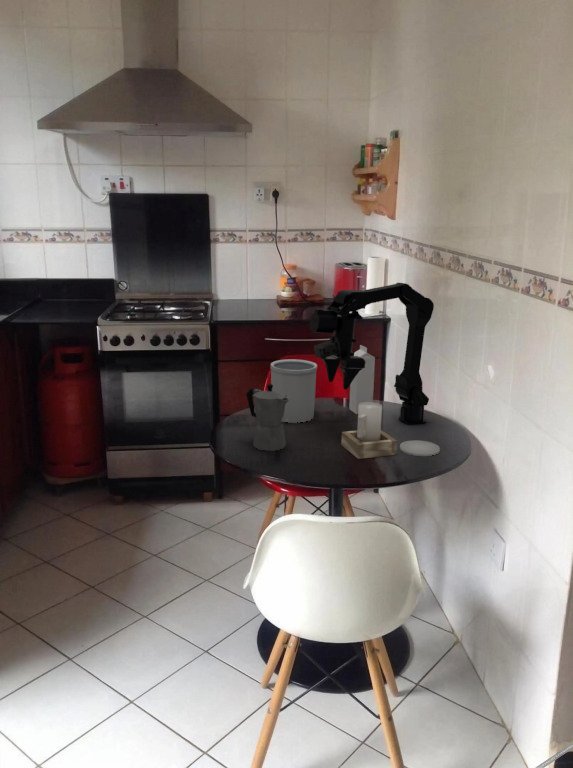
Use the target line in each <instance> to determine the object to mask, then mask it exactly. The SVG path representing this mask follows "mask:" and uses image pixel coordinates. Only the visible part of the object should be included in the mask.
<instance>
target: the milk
mask: <svg viewBox="0 0 573 768" xmlns="http://www.w3.org/2000/svg"><path fill="white" fill-rule="evenodd" d="M354 356H358V357H361V358H363V359H364V360H365V361H366V362H365V368H362V370H360V371H359V373H358V374H357V375H356V376H355V378H354V379H353V381H352V383H351V384H350V386H349V406H348V407H349V408H348V409H349V410H350V411H351V412H353V413H354V414H355V415H358V408H359V404H360V403H363V402H374V383H375V367H376V366H375V365H376V364H375V363H376V361H375V360H376V357H375V356H373V355H371V354H370V353H368V347H366V346H365V345H363V344H360V345H359V349H358V350H356V351H355V352H354Z"/></svg>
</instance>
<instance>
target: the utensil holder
mask: <svg viewBox="0 0 573 768" xmlns="http://www.w3.org/2000/svg"><path fill="white" fill-rule="evenodd" d="M270 370H271V371H270V373H271V374H270V375H271V376H270V377H271V378H270V384H272V385H273V388H272V390H273V391H280V392H283V393H285V394H286V395H287V397H286V398H287V399H289V401H288V402H287V403H286V404H285V410H284V416H283V418H282V423H285V422H288V423H287V424H301V423H300V422H303V423H307V422H306V421H308V422H311V421H312V420H313V419H314V415H315V413H314V412H315V401H316V400H315V399H316V382H317V381H316V380H317V370H318V364H317V363H316V362H313V361H310V360H305V359H294V358H293V359H288V358H287V359H280V360H279V359H278V360H275V361H273V362H271V363H270ZM311 419H312V420H311ZM297 422H298V423H297Z"/></svg>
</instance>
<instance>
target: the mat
mask: <svg viewBox="0 0 573 768" xmlns="http://www.w3.org/2000/svg"><path fill="white" fill-rule="evenodd" d="M440 447H441V446H439V445H438V444H436V443H434V442H431V441H426V440H416V439H415V440H406V441H403V442H401V443H400V444H399V449H400V451H401V452H403V453H404V454H406V455H410V456H414V457H433V456H432V455H434V456H436V454H437V455H438V454H439V453H440V452H441V448H440Z"/></svg>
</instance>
